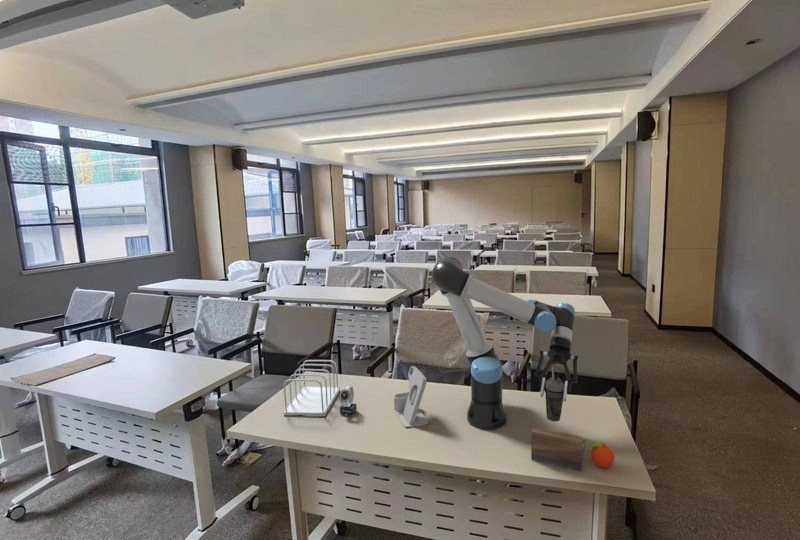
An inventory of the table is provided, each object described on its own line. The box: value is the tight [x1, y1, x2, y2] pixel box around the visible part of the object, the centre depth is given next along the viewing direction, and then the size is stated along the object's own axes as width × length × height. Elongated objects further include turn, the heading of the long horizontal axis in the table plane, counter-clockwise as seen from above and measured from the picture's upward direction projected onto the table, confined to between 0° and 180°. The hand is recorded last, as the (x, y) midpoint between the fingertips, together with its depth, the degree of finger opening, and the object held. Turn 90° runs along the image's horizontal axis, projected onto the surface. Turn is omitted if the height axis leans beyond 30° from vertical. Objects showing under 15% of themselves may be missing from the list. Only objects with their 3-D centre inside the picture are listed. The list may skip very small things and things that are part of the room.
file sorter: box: [283, 359, 341, 417], centre depth 185 cm, size 25×17×16 cm
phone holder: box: [393, 366, 429, 428], centre depth 171 cm, size 17×10×18 cm, turn 16°
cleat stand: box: [530, 428, 586, 472], centre depth 142 cm, size 14×15×10 cm
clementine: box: [587, 442, 616, 468], centre depth 135 cm, size 8×7×7 cm
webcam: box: [338, 385, 358, 416], centre depth 175 cm, size 6×8×11 cm
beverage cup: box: [544, 365, 565, 422], centre depth 155 cm, size 7×7×20 cm
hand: (553, 397), depth 152 cm, fingers closed on beverage cup, 7 cm apart
